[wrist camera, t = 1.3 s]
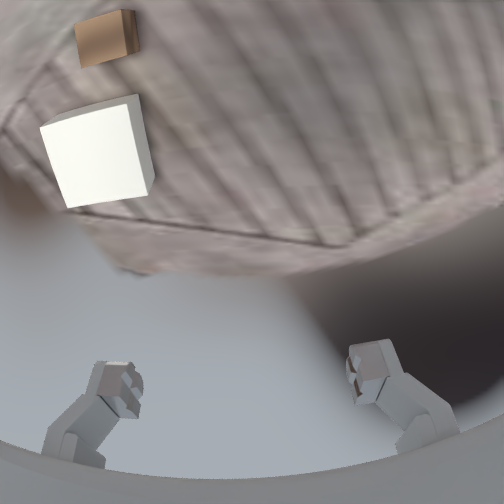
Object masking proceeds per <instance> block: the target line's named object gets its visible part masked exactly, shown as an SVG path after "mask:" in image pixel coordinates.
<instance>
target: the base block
mask: <svg viewBox="0 0 504 504" xmlns="http://www.w3.org/2000/svg"><path fill="white" fill-rule="evenodd" d="M40 130H41V134H42V137H43V140H44V144H45V147H46V150H47V153H48V156H49V159H50V162H51V165H52V168H53V171H54V173H55V176H56V179H57V182H58V184H59V187H60V190H61V192H62V195H63V197H64V200H65V202H66V205H67V207H68V208H71V207H77V206H83V205H88V204H94V203H100V202H107V201H113V200H120V199H126V198H133V197H140V196H147V195H148V194H149V191H150V189H151V186H152V183H153V181H154V178H155V173H154V169H153V164H152V160H151V155H150V151H149V146H148V141H147V136H146V132H145V127H144V122H143V116H142V111H141V106H140V101H139V95H138V94H133V95H129V96H124V97H120V98H115V99H111V100H107V101H103V102H99V103H95V104H91V105H88V106H84V107H81V108H77V109H74V110H70V111H67V112H64V113H61V114H58V115H56V116H55V117H53V118H52V119H51V120H49V121H48V122H47V123H45V124H44V125H43V126H41V127H40Z"/></svg>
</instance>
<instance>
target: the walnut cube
mask: <svg viewBox="0 0 504 504" xmlns="http://www.w3.org/2000/svg"><path fill="white" fill-rule="evenodd" d="M74 28H75V34H76V41H77V47H78V53H79V58H80V64H81V68H84V67H88V66H91V65H94V64H98V63H101V62H105V61H108V60H112V59H116V58H120V57H124V56H127V55H130V54H133V53H136V52H139V51H140V48H139V41H138V34H137V26H136V18H135V11H132V10H122V9H121V10H117V11H113V12H110V13H107V14H103V15H100V16H97V17H94V18H91V19H88V20H85V21H82V22H79V23H77V24H74Z"/></svg>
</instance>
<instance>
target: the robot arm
mask: <svg viewBox="0 0 504 504" xmlns="http://www.w3.org/2000/svg"><path fill="white" fill-rule="evenodd" d="M349 354H350V356H349V357H348V358H347V362H346V372H347V377H348V381H349V382H350V383H351V384H352V385H353V386H352V389H351V393H352V397H353V400H354V404H355V406H356V405H362V404H367V403H373V402H376V404H377V405H378V406H379V407H380V408H381V409H382V410H383V411H384V412H385V413H386V414H387V415H388V416H389V417H390V418H391V419H392V420H393V421H394V422H395V423H396V424H397V425H398V426H399V427H400V428H402V430H403V431H404V433H403V434H402V436H401V437H400V438H399V440H398V441H397V442H396V443H395V445H396V449H397V453H398V455H394V456H391V457H387V458H383V459H379V460H375V461H371V462H366V463H362V464H357V465H353V466H348V467H343V468H337V469H332V470H326V471H320V472H313V473H306V474H297V475H289V476H279V477H267V478H250V479H188V478H171V477H157V476H149V475H140V474H132V473H125V472H118V471H112V470H106V469H105V461H106V459H105V457H104V456H103V455H101V454H100V453H99V452H97V451H96V450H97V448H98V447H99V446H100V444H101V443H102V442H103V440H104V439H105V438H106V436H107V435H108V434H109V433H110V431H111V430H112V429H113V427H114V426H115V425H116V424H117V422H118V421H119V418H128V419H138V417H139V412H140V407H141V404H140V403H139V401H138V400H139V398H140V397H141V396H142V395H143V389H144V388H143V380H142V377H141V375H140V374H139V373H138V372H136V371H135V366H134V364H133V363H132V362H111V361H97V362H96V363H95V364H94V367H93V370H92V374H91V377H90V380H89V383H88V386H87V390H86V393H85V394H82V395H81V396H80V397H79V398H78V399H77V400H76V401H75V402H74V403H73V404H72V405H71V406H70V407H69V408H68V409H67V410H66V411H65V412H64V413H63V414H62V415H61V416H60V417H59V418H58V419H57V420H56V421H54V422H53V423H52V424H51V426H49V427H48V430H47V434H46V437H45V441H44V445H43V449H42V452H41V454H39V453H36V452H33V451H29V450H26V449H23V448H20V447H17V446H14V445H12V444H9V443H6V442H3V441H1V440H0V504H504V414H502V415H500V416H498V417H496V418H494V419H491V420H489V421H487V422H485V423H483V424H481V425H478V426H476V427H474V428H472V429H469V430H467V431H464V432H462V433H460V431H459V428H458V425H457V423H456V420H455V417H454V414H453V412H452V409H451V406H450V404H448V403H447V402H446V401H444V400H443V399H441V398H440V397H439V396H438V395H436V394H435V393H433V392H432V391H431V390H430V389H428V388H427V387H426V386H424V385H423V384H421V383H420V382H419V381H418V380H416V379H415V378H413V377H412V376H411V375H409V374H408V373H403V370H402V367H401V365H400V362H399V360H398V357H397V355H396V352H395V350H394V347H393V345H392V343H391V341H390V340H389V339H385V340H381V341H373V342H367V343H362V344H356V345H351V346H350V348H349Z"/></svg>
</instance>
